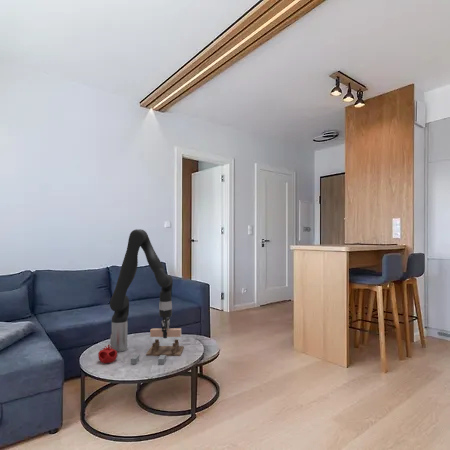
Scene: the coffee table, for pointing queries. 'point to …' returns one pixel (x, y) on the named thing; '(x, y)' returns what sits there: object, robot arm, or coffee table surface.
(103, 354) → the pomegranate
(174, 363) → the coffee table surface
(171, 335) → the light wooden bar
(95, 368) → the coffee table surface
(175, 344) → the rack
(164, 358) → the blocks
